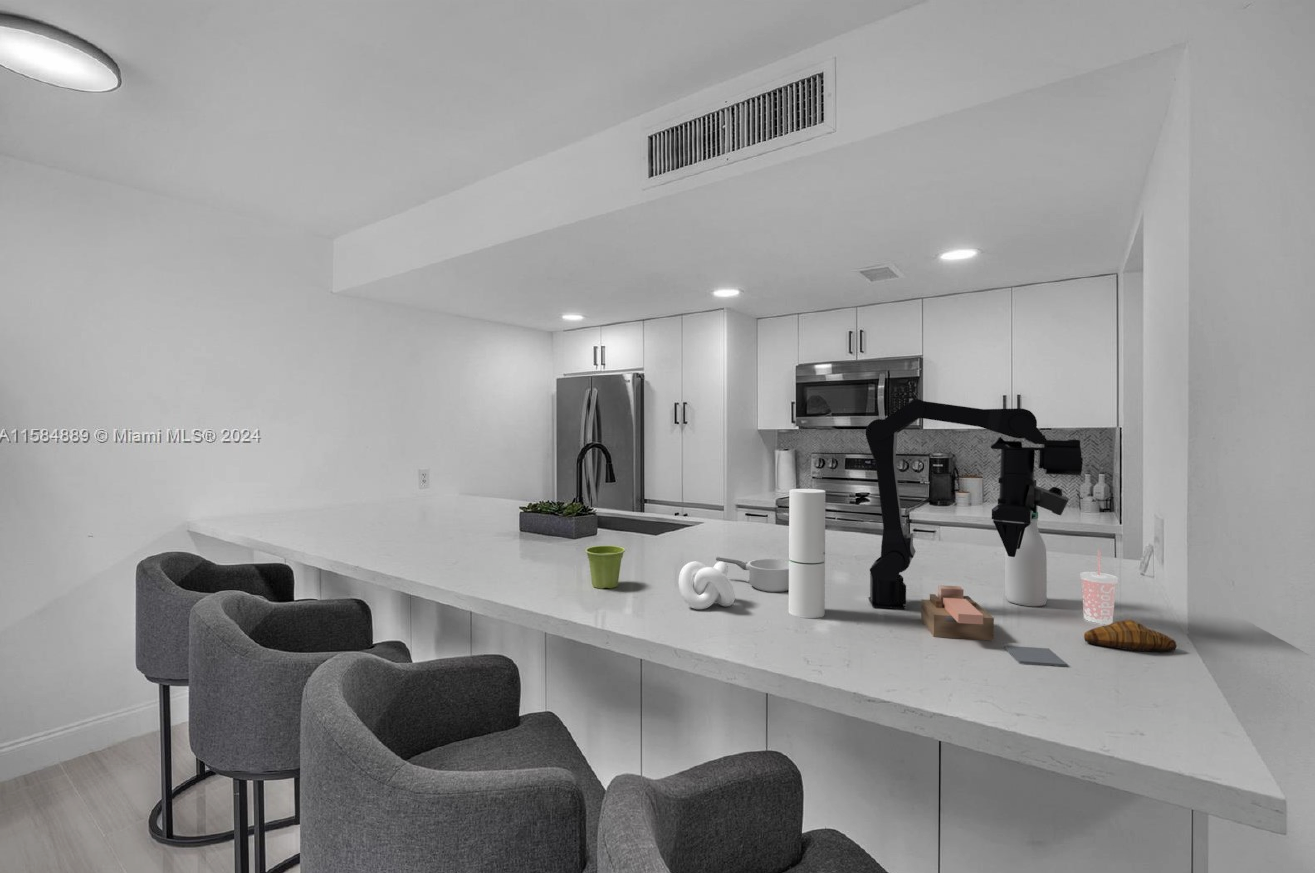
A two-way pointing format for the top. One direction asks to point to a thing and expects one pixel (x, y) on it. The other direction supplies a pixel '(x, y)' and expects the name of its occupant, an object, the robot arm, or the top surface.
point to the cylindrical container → (807, 553)
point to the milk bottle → (1027, 570)
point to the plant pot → (605, 565)
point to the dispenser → (946, 625)
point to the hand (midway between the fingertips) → (1014, 552)
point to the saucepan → (765, 573)
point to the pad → (1035, 655)
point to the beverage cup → (1098, 595)
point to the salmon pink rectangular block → (962, 611)
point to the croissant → (1129, 637)
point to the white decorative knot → (705, 585)
